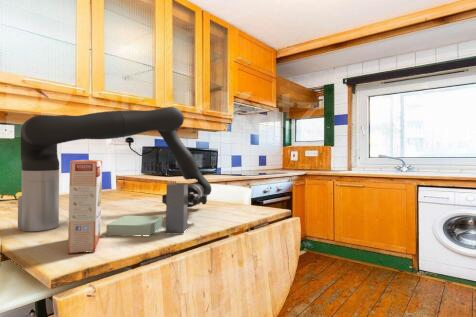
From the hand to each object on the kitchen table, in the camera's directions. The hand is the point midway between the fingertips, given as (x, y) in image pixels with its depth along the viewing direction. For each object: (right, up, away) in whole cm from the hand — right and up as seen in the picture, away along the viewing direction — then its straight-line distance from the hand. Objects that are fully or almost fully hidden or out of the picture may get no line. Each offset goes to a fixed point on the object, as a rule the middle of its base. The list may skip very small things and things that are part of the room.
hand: (180, 202), depth 89 cm
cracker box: (-20, -8, -18) cm, 28 cm away
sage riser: (-12, -8, -4) cm, 15 cm away
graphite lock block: (0, -8, -4) cm, 9 cm away
